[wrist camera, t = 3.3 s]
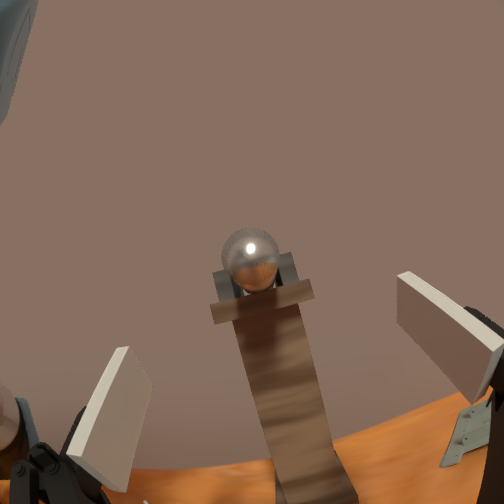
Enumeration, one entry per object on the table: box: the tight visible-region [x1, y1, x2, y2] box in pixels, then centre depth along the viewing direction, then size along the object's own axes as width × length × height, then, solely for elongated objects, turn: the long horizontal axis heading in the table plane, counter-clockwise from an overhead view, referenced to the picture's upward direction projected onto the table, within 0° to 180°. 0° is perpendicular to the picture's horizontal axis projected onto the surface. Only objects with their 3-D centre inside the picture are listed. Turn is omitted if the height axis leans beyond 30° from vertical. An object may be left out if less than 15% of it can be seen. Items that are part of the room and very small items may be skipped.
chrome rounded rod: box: [222, 228, 279, 295], centre depth 29 cm, size 20×4×4 cm, turn 177°
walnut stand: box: [210, 252, 359, 504], centre depth 30 cm, size 14×10×33 cm
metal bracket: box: [439, 400, 491, 468], centre depth 20 cm, size 14×6×15 cm
